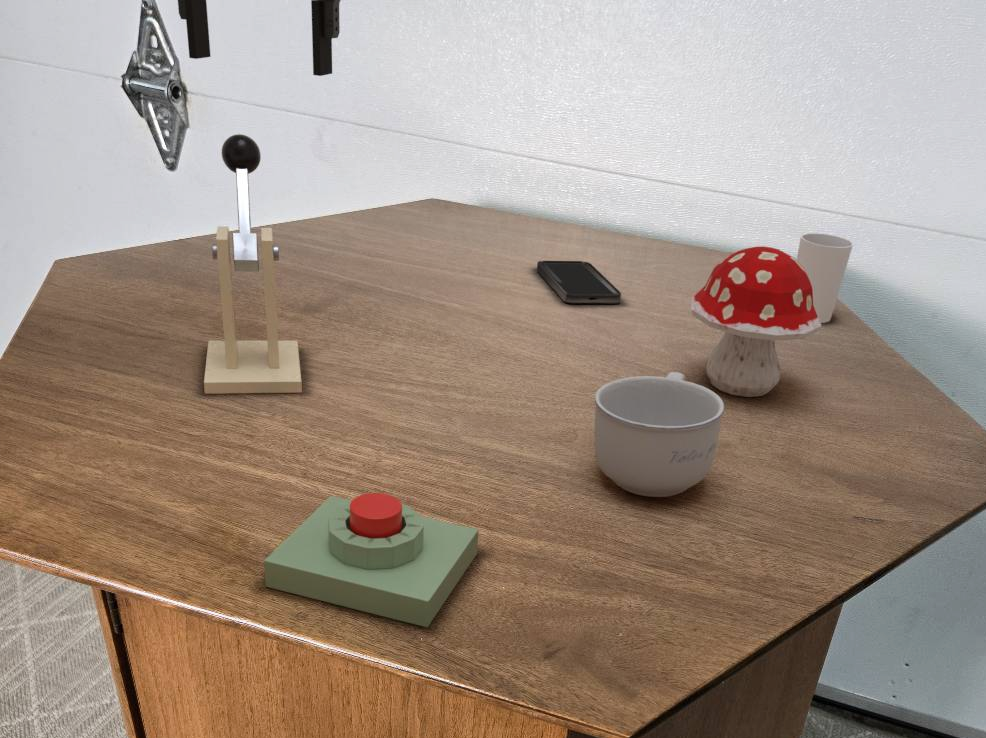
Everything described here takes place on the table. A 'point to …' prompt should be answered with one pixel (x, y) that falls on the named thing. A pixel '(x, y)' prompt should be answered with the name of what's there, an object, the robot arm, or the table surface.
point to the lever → (243, 198)
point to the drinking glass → (824, 268)
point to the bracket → (250, 361)
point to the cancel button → (375, 515)
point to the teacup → (656, 433)
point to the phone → (578, 282)
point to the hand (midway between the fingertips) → (260, 66)
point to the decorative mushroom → (754, 317)
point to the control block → (373, 563)
